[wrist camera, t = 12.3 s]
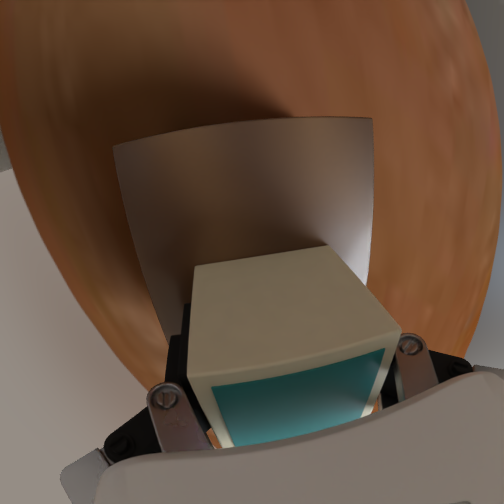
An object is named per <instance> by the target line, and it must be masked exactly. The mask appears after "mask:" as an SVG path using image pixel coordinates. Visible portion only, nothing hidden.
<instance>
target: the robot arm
mask: <svg viewBox="0 0 504 504" xmlns="http://www.w3.org/2000/svg"><path fill="white" fill-rule="evenodd" d="M190 314H191V303H186V304H184V309H183V318H182V327H181V334H179V335H171V337H170V343H169V350H168V357H167V365H166V374H165V382H162V383H159V384H157V385H155V386H154V387H153V388H151V390H150V391H149V392H148V394H147V398H146V399H147V407H146V408H144V409H143V410H142V411H141V412H139V413H138V414H137V415H136V416H134V417H133V418H132V419H130V420H129V421H128V422H126V423H125V424H123V425H122V426H121V427H119V428H118V429H117V430H116V431H114V432H113V433H111V434H110V435H109V436H108V437H107V439H106V440H105V443H104V447H103V448H102V449H98V448H97V449H95V450H94V451H92V452H90V453H88V454H87V455H85V456H83V457H82V458H80V459H79V460H77V461H75V462H74V463H72V464H70V465H68V466H67V467H65V468H64V469H63V470H62V472H61V474H60V481H61V484H62V486H63V488H64V490H65V492H66V493H67V495H68V497H69V499H70V500H71V502H72V504H504V369H498V368H491V367H485V366H479V365H474V366H473V367H472V366H471V365H470V363H469V362H468V361H466V360H465V359H463V358H459V357H455V356H451V355H447V354H443V353H439V352H435V351H431V350H428V348H427V345H426V343H425V341H424V340H423V339H422V338H421V337H420V336H418V335H416V334H413V333H403V334H401V335H400V338H399V341H398V344H397V347H396V350H395V353H394V356H393V359H392V362H391V365H390V368H389V370H388V373H387V375H386V378H385V381H384V383H383V386H382V388H381V391H380V393H379V395H378V398H377V401H378V412H375V413H372V414H370V415H367V416H364V417H361V418H358V419H356V420H353V421H350V422H347V423H343V424H340V425H337V426H334V427H330V428H327V429H323V430H319V431H316V432H312V433H308V434H304V435H300V436H295V437H291V438H286V439H281V440H276V441H271V442H265V443H259V444H253V445H246V446H239V447H230V448H221V449H214V447H213V445H212V443H211V441H210V439H209V437H208V435H207V433H206V432H207V431H208V430H209V429H210V428H211V426H210V424H209V422H208V420H207V418H206V416H205V414H204V412H203V410H202V408H201V406H200V404H199V401H198V399H197V397H196V395H195V393H194V391H193V389H192V386H191V384H190V382H189V380H188V377H187V362H188V343H189V328H190Z"/></svg>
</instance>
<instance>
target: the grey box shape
mask: <svg viewBox="0 0 504 504" xmlns="http://www.w3.org/2000/svg"><path fill="white" fill-rule="evenodd" d="M113 154H114V160H115V165H116V171H117V176H118V181H119V185H120V190H121V195H122V199H123V203H124V208H125V212H126V216H127V220H128V224H129V228H130V231H131V235H132V239H133V242H134V246H135V250H136V253H137V256H138V260H139V263H140V266H141V270H142V273H143V276H144V279H145V282H146V285H147V288H148V291H149V294H150V297H151V300H152V303H153V305H154V308H155V311H156V314H157V316H158V319H159V322H160V324H161V327H162V330H163V332H164V335H165V337H166V340H167V342H168V345H169V343H170V337H171V335H179V334H181V327H182V318H183V309H184V304H186V303H191V301H192V290H193V279H194V269H195V266H198V265H205V264H211V263H218V262H224V261H231V260H237V259H244V258H250V257H256V256H263V255H269V254H276V253H282V252H288V251H295V250H301V249H307V248H314V247H320V246H326V245H329V246H330V247H331V248H332V249H333V250H334V251H335V252H336V253H337V255H338V256H339V257H340V258H341V259H342V260H343V261H344V262H345V263H346V264H347V266H348V267H349V268H350V269H351V270H352V271H353V272H354V273H355V274H356V276H357V277H358V278H359V279H360V280H361V281H362V282H363V284H364V285H365V286H367V278H368V269H369V260H370V249H371V237H372V222H373V201H374V143H373V122H372V118H366V117H334V116H318V117H286V118H270V119H257V120H247V121H237V122H229V123H221V124H214V125H207V126H201V127H194V128H189V129H183V130H178V131H173V132H168V133H163V134H158V135H153V136H149V137H145V138H141V139H136V140H132V141H129V142H125V143H121V144H117V145H114V146H113Z"/></svg>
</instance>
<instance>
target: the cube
mask: <svg viewBox="0 0 504 504" xmlns="http://www.w3.org/2000/svg"><path fill="white" fill-rule="evenodd" d="M401 332H402V330H401V328H400V326H399V325H398V324H397V323H396V321H395V320H394V319H393V318H392V317H391V315H390V314H389V313H388V312H387V310H386V309H385V308H384V307H383V306H382V305H381V303H380V302H379V301H378V300H377V299H376V297H375V296H374V295H373V294H372V293H371V292H370V290H369V289H368V288H367V287H366V286H365V285H364V284H363V282H362V281H361V280H360V279H359V278H358V277H357V276H356V274H355V273H354V272H353V271H352V270H351V269H350V268H349V267H348V266H347V264H346V263H345V262H344V261H343V260H342V259H341V258H340V257H339V256H338V255H337V253H336V252H335V251H334V250H333V249H332V248H331V247H330V246H329V245H326V246H320V247H314V248H307V249H301V250H295V251H288V252H282V253H276V254H269V255H263V256H256V257H250V258H244V259H237V260H231V261H224V262H218V263H211V264H205V265H198V266H195V269H194V279H193V290H192V301H191V314H190V328H189V343H188V362H187V377H188V380H189V382H190V384H191V386H192V389H193V391H194V393H195V395H196V397H197V399H198V401H199V404H200V406H201V408H202V410H203V412H204V414H205V416H206V418H207V420H208V422H209V424H210V426H211V428H212V430H213V432H214V434H215V435H216V437H217V439H218V441H219V443H220V445H221V447H222V448H230V447H239V446H246V445H253V444H259V443H265V442H271V441H276V440H281V439H286V438H291V437H295V436H300V435H304V434H308V433H312V432H316V431H319V430H323V429H327V428H330V427H334V426H337V425H340V424H343V423H347V422H350V421H353V420H356V419H358V418H361V417H364V416H367V415H370V413H371V411H372V409H373V407H374V405H375V402H376V400H377V398H378V395H379V393H380V391H381V388H382V386H383V383H384V381H385V378H386V375H387V373H388V370H389V368H390V365H391V362H392V359H393V356H394V353H395V350H396V347H397V344H398V341H399V338H400V335H401Z"/></svg>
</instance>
